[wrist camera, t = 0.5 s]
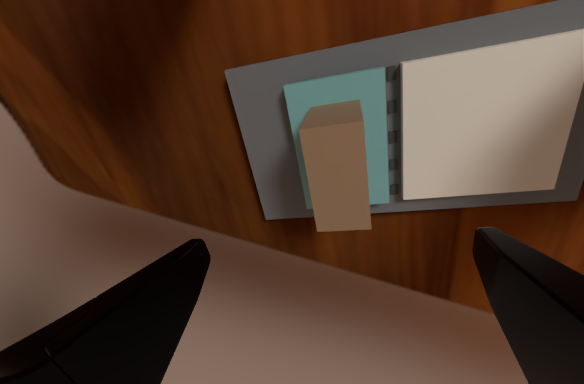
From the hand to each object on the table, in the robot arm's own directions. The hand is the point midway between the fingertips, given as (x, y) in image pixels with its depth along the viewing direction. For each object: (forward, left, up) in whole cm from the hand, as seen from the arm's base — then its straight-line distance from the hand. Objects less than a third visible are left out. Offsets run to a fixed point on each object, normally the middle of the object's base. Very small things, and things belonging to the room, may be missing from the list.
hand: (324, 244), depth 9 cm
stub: (0, +1, -11) cm, 11 cm away
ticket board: (-4, +1, -13) cm, 13 cm away
